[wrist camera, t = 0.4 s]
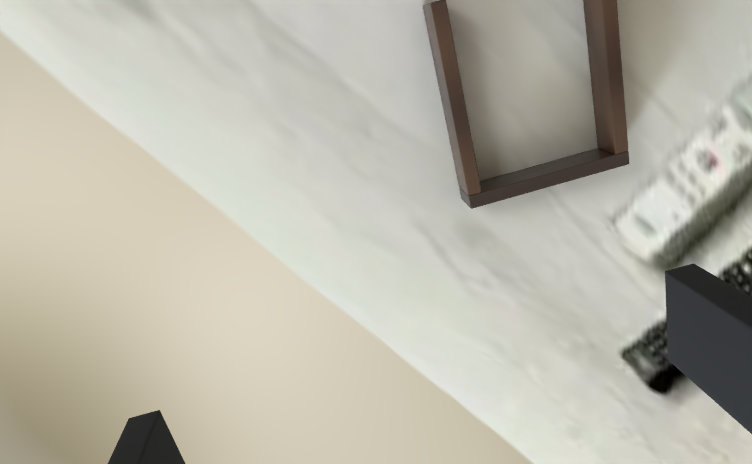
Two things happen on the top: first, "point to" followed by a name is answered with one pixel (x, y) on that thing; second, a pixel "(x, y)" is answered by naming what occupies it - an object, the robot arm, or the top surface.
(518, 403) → the top surface
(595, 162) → the frame
